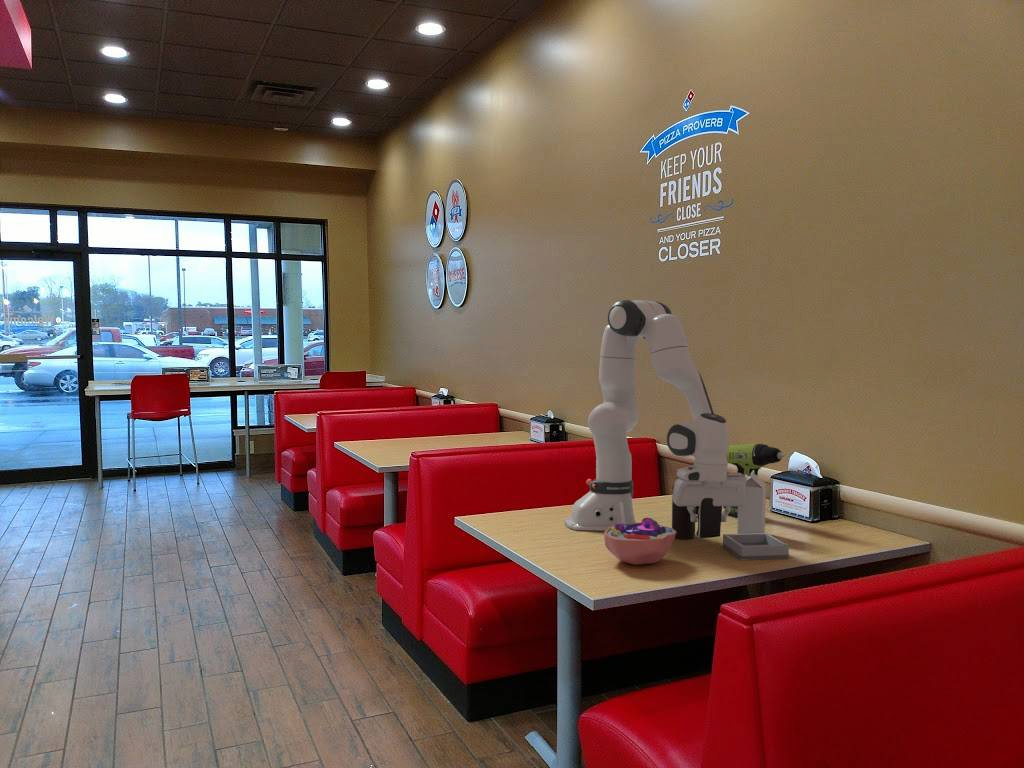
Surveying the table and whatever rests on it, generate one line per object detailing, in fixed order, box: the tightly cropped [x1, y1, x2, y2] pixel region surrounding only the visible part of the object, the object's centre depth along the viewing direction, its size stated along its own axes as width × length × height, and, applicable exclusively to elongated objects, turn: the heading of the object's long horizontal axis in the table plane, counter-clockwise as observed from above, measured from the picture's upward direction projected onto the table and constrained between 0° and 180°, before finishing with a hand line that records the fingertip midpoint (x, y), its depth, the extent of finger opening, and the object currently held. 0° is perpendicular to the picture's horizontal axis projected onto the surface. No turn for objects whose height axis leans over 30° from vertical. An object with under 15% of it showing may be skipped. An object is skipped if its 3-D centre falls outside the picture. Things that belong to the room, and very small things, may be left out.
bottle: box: [671, 468, 696, 540], centre depth 222 cm, size 7×7×20 cm
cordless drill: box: [726, 443, 787, 519], centre depth 242 cm, size 23×7×25 cm, turn 28°
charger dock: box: [722, 532, 790, 561], centre depth 206 cm, size 13×13×4 cm
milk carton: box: [736, 470, 767, 534], centre depth 225 cm, size 7×7×19 cm
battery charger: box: [695, 498, 723, 539], centre depth 209 cm, size 7×4×11 cm, turn 111°
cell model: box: [603, 517, 676, 566], centre depth 197 cm, size 17×20×11 cm
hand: (708, 521), depth 209 cm, fingers closed on battery charger, 7 cm apart
